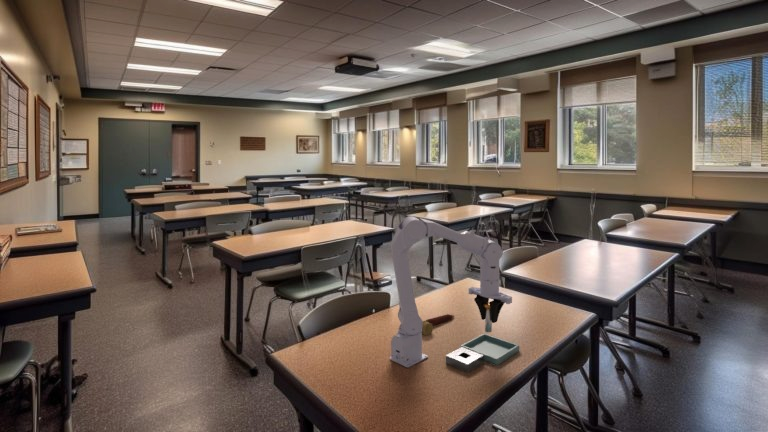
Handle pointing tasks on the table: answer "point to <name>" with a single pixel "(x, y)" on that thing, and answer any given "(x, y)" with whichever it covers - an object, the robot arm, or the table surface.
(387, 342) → the table surface
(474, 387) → the table surface
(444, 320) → the gavel
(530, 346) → the table surface
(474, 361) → the block
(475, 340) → the tray
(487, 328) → the steel pin
